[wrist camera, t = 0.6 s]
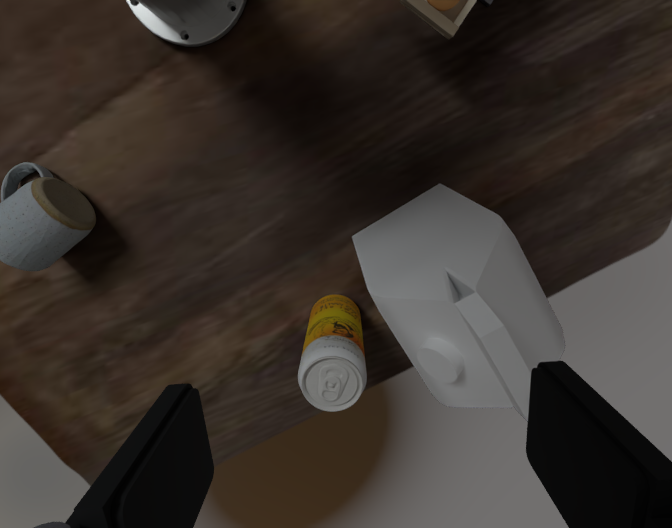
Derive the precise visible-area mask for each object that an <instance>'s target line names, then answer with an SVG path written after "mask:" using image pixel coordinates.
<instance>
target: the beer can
mask: <svg viewBox="0 0 672 528" xmlns="http://www.w3.org/2000/svg"><path fill="white" fill-rule="evenodd" d="M298 381H299V385H300V388H301V390H302V392H303V394H304V396H305V398H306V399H307V400H308V402H310V403H311V404H312V405H313V406H315V407H316V408H318V409H321V410H324V411H341V410H344V409H346V408H348V407H350V406H352V405H353V404H354V403H355V402H356V401H357V400H358V398H359V397H360V395H361V393H362V392H363V390H364V388H365V386H366V381H367V373H366V364H365V354H364V345H363V335H362V326H361V316H360V311H359V309H358V307H357V305H356V304H355V303H354V302H353V301H352V300H351V299H349V298H348V297H345V296H342V295H328V296H325V297H323V298H321V299H320V300H318V301H317V302H316V304H315V305H314V306H313V308H312V311H311V315H310V320H309V324H308V329H307V334H306V338H305V343H304V348H303V353H302V357H301V362H300V367H299V372H298Z"/></svg>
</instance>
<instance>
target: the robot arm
mask: <svg viewBox="0 0 672 528" xmlns="http://www.w3.org/2000/svg"><path fill="white" fill-rule="evenodd" d="M246 1H247V0H126V2H127V4H128V5H129V7H130V9H131V10H132V12H133V13H134V15H135V16H136V17H137V18H138V20H139V21H140V22H141V23H142V24H143V25H144V26H145V27H146V28H148V29H149V30H150V31H151V32H152V33H154V34H155V35H157V36H158V37H160V38H162V39H163V40H166V41H168V42H170V43H173V44H176V45H180V46H185V47H198V46H203V45H207V44H210V43H212V42H214V41H217V40H219V39H220V38H221V37H223V36H224V35H225V34H227V33H228V32H229V31H230V30H231V29H232V28H233V26H234V25H235V24H236V23H237V21H238V19H239V18H240V16H241V14H242V12H243V10H244V7H245V4H246ZM138 2H139V4H138V5H137V3H138ZM234 7H235V8H236V10H235V11H233V12H232V8H234ZM188 35H189V38H188V39H187V40H186V36H188ZM526 453H527V457H528V460H529V462H530V464H531V466H532V468H533V469H534V471H535V473H536V474H537V476H538V478H539V479H540V481H541V482H542V484H543V486H544V487H545V489H546V491H547V492H548V494H549V496H550V497H551V499H552V501H553V502H554V504H555V505H556V507H557V509H558V510H559V512H560V514H561V515H562V517H563V519H564V520H565V521H566V523H567V525H568V527H569V528H672V462H671V461H670V460H669V459H668V458H667V457H666V456H665V455H663V453H662V452H661V451H659V450H658V449H657V448H656V447H655V446H654V445H653V444H652V443H651V442H650V441H649V440H648V439H647V438H646V437H644V436H643V435H642V434H641V433H640V432H639V431H638V430H637V429H635V427H634V426H633V425H631V424H630V423H629V422H628V421H627V420H626V419H625V418H624V417H623V416H622V415H621V414H620V413H618V411H616V410H615V409H614V408H613V407H612V406H611V405H610V404H609V403H608V402H607V401H606V400H605V399H604V398H602V397H601V396H600V395H599V394H598V393H597V392H596V391H595V390H594V389H593V388H592V387H590V385H589V384H587V383H586V382H585V381H584V380H583V379H582V378H581V377H580V376H579V375H578V374H577V373H576V372H574V371H573V370H572V369H571V368H570V367H569V366H568V365H567V364H566V363H565V362H563V361H549V362H540V363H538V365H537V368H533V369H532V371H531V382H530V397H529V412H528V427H527V442H526ZM213 474H214V464H213V459H212V454H211V450H210V445H209V440H208V435H207V430H206V425H205V420H204V415H203V410H202V405H201V400H200V395H199V391H198V390H197V389H196V388H194V389H193V387H192V386H191V384H174V385H168V386H167V387H166V388H165V390H164V391H163V392H162V394H161V395H160V396H159V398H158V399H157V400H156V402H155V403H154V404H153V406H152V407H151V408H150V409H149V411H148V412H147V413H146V415H145V416H144V417H143V419H142V420H141V421H140V423H139V424H138V425H137V427H136V428H135V429H134V431H133V432H132V433H131V435H130V436H129V437H128V438H127V440H126V441H125V442H124V444H123V445H122V446H121V448H120V449H119V450H118V452H117V453H116V454H115V456H114V457H113V458H112V460H111V461H110V462H109V463H108V465H107V466H106V467H105V469H104V470H103V471H102V473H101V474H100V475H99V477H98V478H97V479H96V481H95V482H94V483H93V485H92V486H91V487H90V489H89V490H88V491H87V493H86V494H85V495H84V496H83V498H82V499H81V501H80V502H79V503H78V504H77V506H76V507H75V508H74V512H73V513H72V515H71V516H70V517H69V519H68V520H67V521H66V523H63V522H50V523H46V524H41V525H39V526H36V527H34V528H193V527H194V524H195V522H196V519H197V517H198V514H199V512H200V509H201V507H202V504H203V501H204V499H205V497H206V494H207V492H208V489H209V487H210V484H211V481H212V479H213Z"/></svg>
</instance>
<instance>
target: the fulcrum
mask: <svg viewBox="0 0 672 528" xmlns="http://www.w3.org/2000/svg"><path fill="white" fill-rule="evenodd" d="M480 1H481V2H482V3H483V4H485V5H486V6H487V7H489V6H490V4H491V3H492V1H493V0H480Z"/></svg>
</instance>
